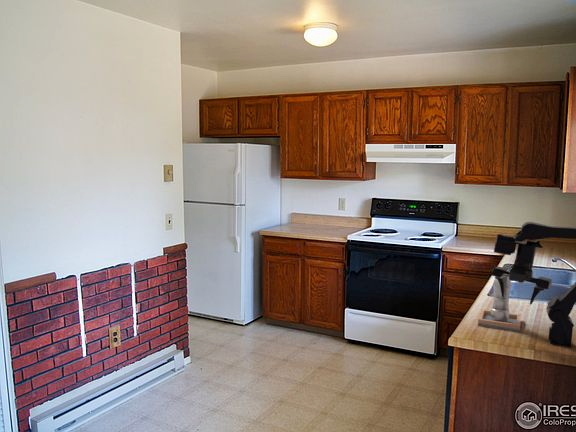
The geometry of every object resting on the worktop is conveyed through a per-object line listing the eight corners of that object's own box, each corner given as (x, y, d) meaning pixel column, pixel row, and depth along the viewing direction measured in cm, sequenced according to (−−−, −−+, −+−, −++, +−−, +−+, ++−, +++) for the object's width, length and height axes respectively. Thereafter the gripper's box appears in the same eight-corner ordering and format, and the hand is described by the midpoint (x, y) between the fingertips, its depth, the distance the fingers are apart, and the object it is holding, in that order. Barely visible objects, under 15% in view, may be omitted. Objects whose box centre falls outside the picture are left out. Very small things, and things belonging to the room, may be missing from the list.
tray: (520, 320, 193) (520, 314, 193) (519, 331, 181) (520, 325, 180) (480, 314, 200) (481, 309, 199) (477, 325, 187) (478, 319, 186)
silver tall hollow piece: (486, 318, 192) (490, 268, 190) (502, 317, 194) (505, 267, 191) (496, 323, 186) (500, 272, 184) (512, 323, 188) (516, 271, 185)
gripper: (490, 254, 171) (482, 297, 173) (549, 267, 160) (540, 313, 162) (499, 251, 180) (492, 292, 182) (556, 263, 168) (547, 306, 171)
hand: (516, 300), depth 174 cm, fingers open, 9 cm apart
